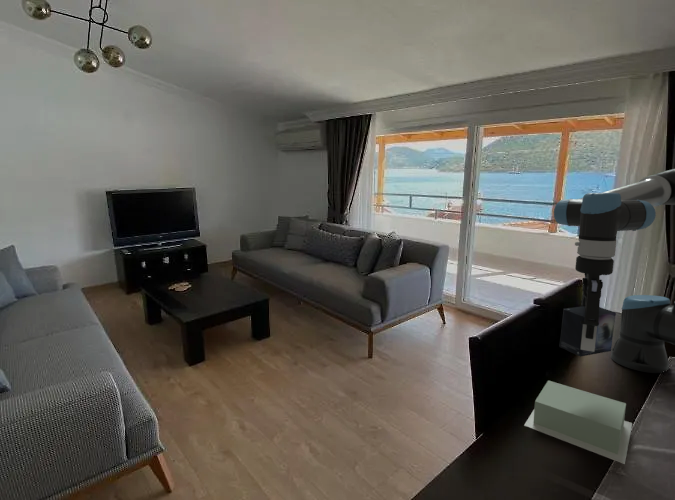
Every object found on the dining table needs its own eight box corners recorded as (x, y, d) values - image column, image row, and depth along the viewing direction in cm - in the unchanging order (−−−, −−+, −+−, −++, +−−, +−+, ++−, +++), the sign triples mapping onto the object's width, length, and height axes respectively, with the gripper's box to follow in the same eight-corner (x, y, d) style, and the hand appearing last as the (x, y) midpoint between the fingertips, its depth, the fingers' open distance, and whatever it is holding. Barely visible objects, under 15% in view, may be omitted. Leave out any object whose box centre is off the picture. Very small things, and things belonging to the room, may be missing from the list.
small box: (581, 358, 88) (585, 316, 86) (557, 347, 94) (561, 308, 92) (613, 351, 91) (617, 311, 89) (588, 341, 97) (592, 304, 95)
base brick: (546, 400, 101) (548, 380, 100) (623, 425, 90) (626, 403, 89) (533, 422, 92) (534, 401, 91) (617, 454, 81) (620, 430, 80)
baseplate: (542, 397, 104) (543, 394, 104) (631, 426, 91) (632, 423, 91) (523, 428, 91) (524, 425, 91) (624, 468, 78) (624, 464, 78)
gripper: (575, 248, 100) (568, 323, 104) (578, 263, 80) (569, 356, 84) (608, 250, 97) (600, 328, 100) (620, 267, 77) (609, 363, 80)
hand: (586, 341), depth 92 cm, fingers closed on small box, 11 cm apart
